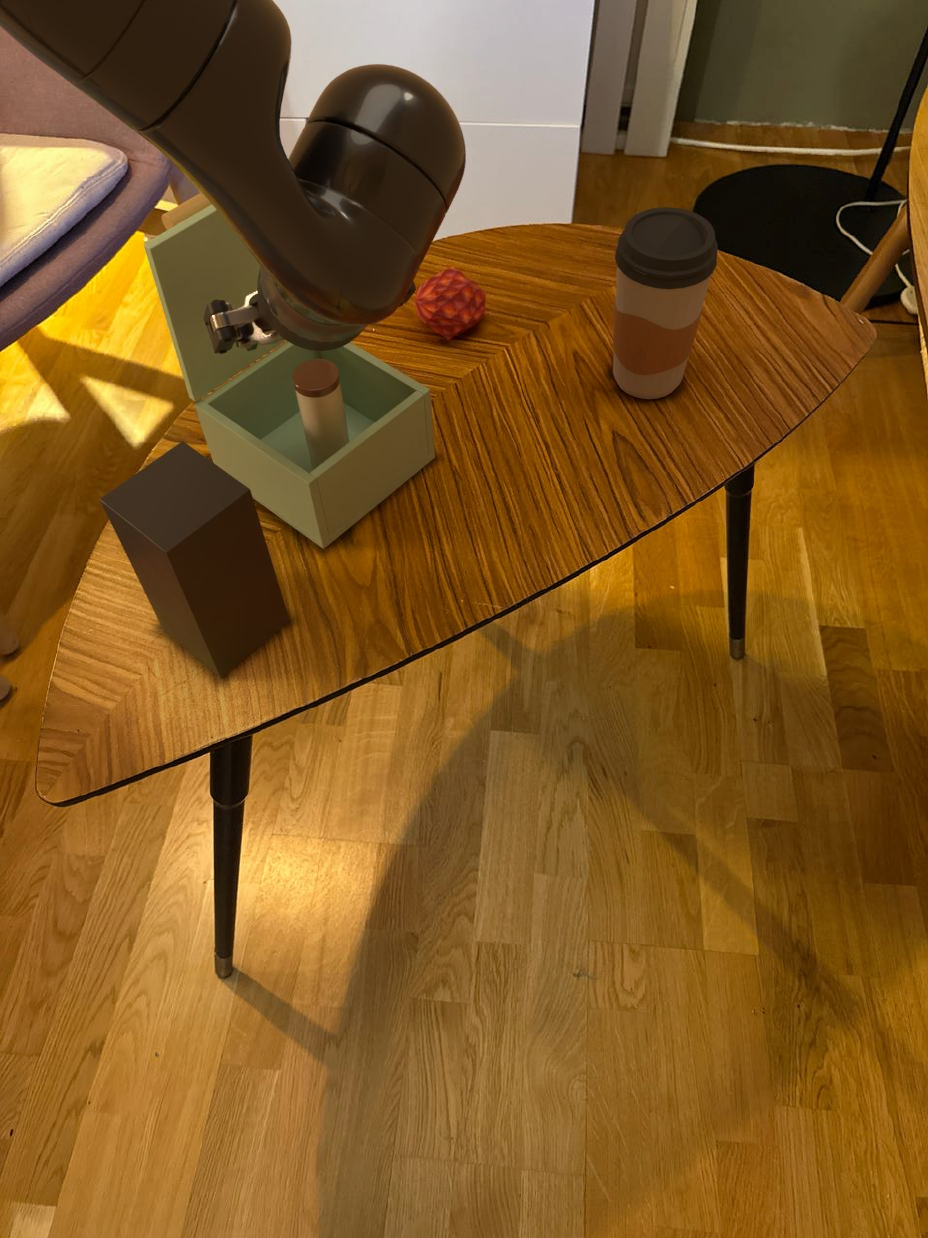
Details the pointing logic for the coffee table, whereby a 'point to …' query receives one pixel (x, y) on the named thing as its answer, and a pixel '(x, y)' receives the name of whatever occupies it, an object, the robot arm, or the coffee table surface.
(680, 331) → the coffee cup
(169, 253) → the chest lid
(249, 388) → the chest
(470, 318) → the red faceted ball
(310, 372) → the canister
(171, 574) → the block
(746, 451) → the coffee table surface
